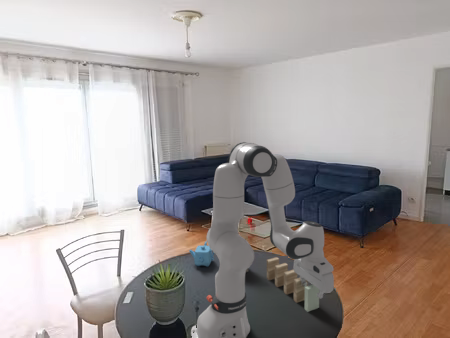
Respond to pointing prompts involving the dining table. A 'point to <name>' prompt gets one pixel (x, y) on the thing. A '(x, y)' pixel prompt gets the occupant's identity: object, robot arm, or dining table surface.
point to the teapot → (202, 255)
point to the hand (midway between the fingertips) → (311, 291)
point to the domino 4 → (299, 290)
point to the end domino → (311, 298)
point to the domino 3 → (289, 281)
